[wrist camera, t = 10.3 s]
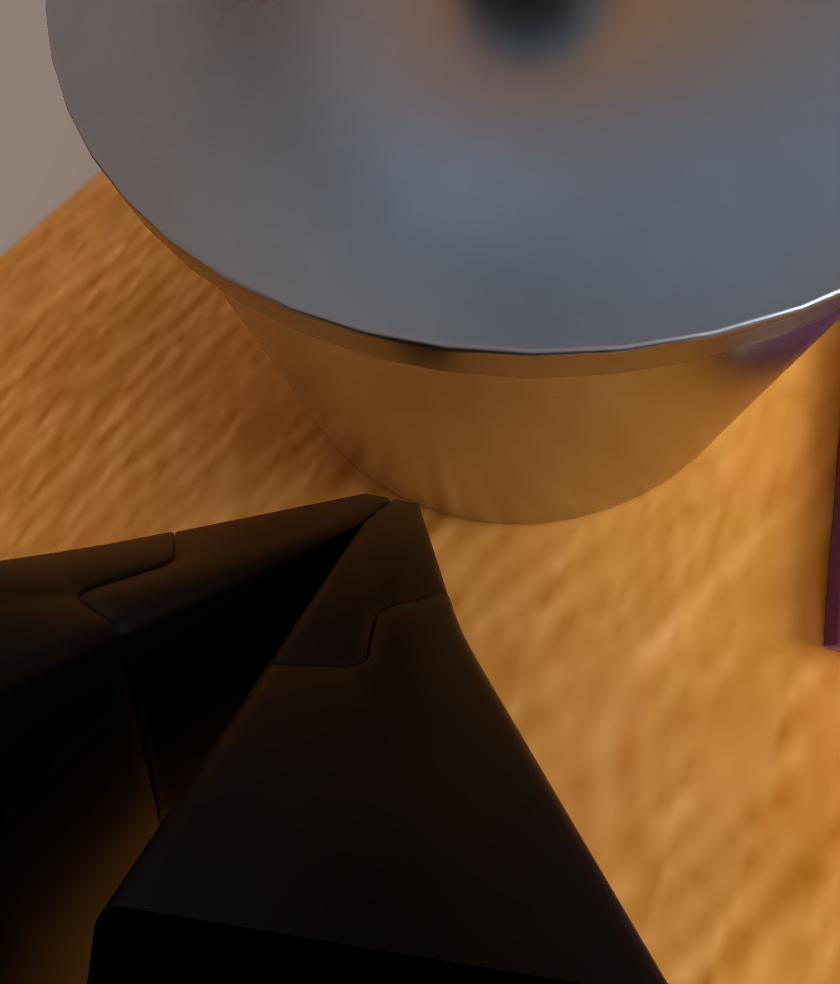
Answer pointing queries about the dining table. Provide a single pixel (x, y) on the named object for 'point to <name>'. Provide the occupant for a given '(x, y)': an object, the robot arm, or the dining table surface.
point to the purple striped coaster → (834, 577)
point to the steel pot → (488, 217)
